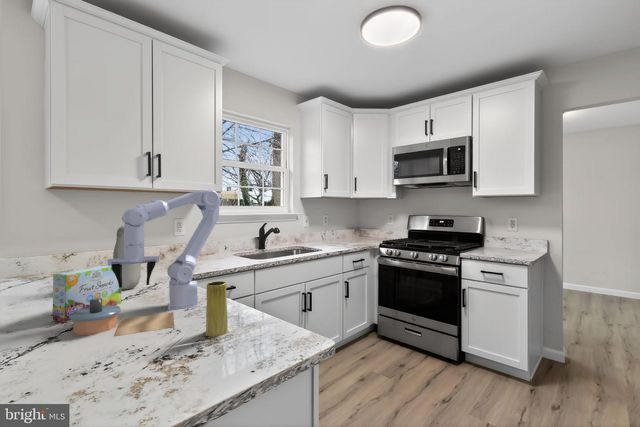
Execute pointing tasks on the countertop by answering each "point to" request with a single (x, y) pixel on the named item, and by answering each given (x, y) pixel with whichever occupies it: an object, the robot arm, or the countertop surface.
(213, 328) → the vase
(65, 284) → the snack box
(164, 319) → the oak board
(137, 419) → the countertop surface
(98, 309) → the lid
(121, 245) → the grey bottle
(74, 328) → the terracotta pot
